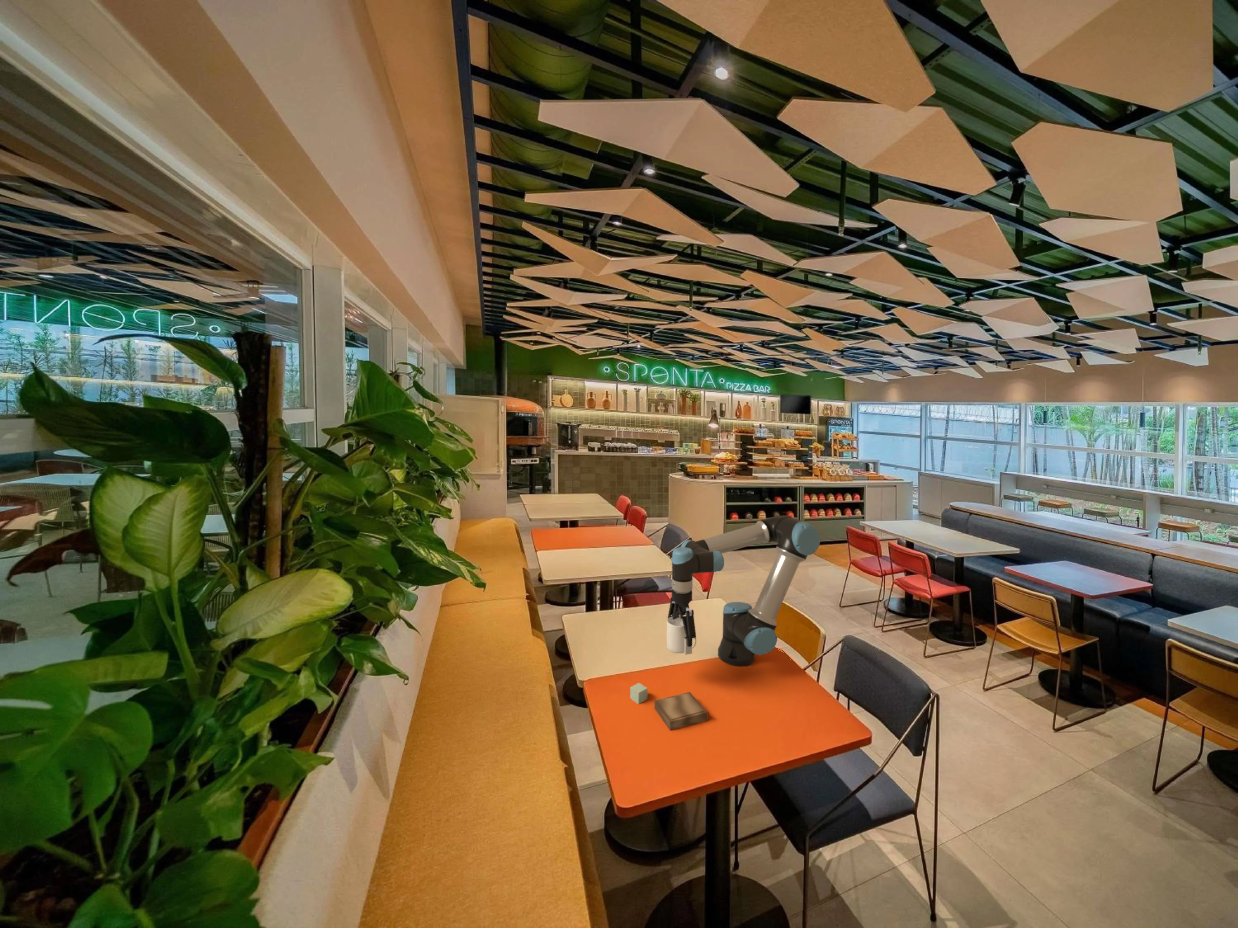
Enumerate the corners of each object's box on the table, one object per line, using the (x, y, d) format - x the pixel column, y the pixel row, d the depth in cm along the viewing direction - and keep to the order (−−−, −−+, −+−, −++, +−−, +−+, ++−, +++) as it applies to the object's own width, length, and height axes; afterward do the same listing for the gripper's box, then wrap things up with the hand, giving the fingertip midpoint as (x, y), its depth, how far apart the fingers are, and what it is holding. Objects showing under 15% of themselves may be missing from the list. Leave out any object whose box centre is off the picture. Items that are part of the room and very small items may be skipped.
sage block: (638, 693, 172) (639, 682, 171) (647, 699, 169) (647, 687, 168) (630, 698, 169) (630, 687, 169) (638, 704, 166) (638, 692, 165)
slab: (689, 699, 168) (689, 691, 168) (707, 720, 157) (707, 711, 157) (654, 708, 163) (654, 699, 163) (670, 730, 152) (670, 721, 152)
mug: (689, 659, 167) (689, 631, 166) (662, 648, 175) (662, 621, 174) (701, 650, 174) (702, 623, 173) (675, 640, 182) (675, 613, 180)
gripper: (659, 580, 182) (658, 634, 184) (688, 603, 160) (687, 663, 163) (676, 577, 184) (675, 631, 187) (707, 600, 163) (705, 659, 166)
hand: (681, 646), depth 175 cm, fingers closed on mug, 10 cm apart
